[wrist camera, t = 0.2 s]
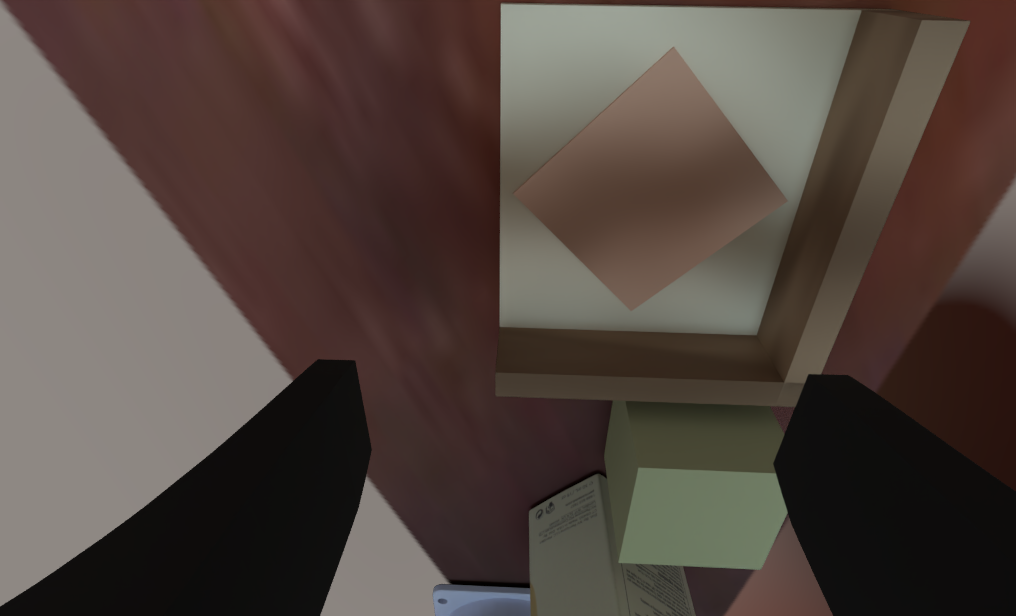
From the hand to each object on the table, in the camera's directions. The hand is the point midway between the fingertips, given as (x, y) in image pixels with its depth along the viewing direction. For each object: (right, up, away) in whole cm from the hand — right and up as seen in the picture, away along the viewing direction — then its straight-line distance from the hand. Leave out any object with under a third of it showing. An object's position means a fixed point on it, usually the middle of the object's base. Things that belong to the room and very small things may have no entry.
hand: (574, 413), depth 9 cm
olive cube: (+6, -3, +13) cm, 14 cm away
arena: (+4, +5, +8) cm, 10 cm away
